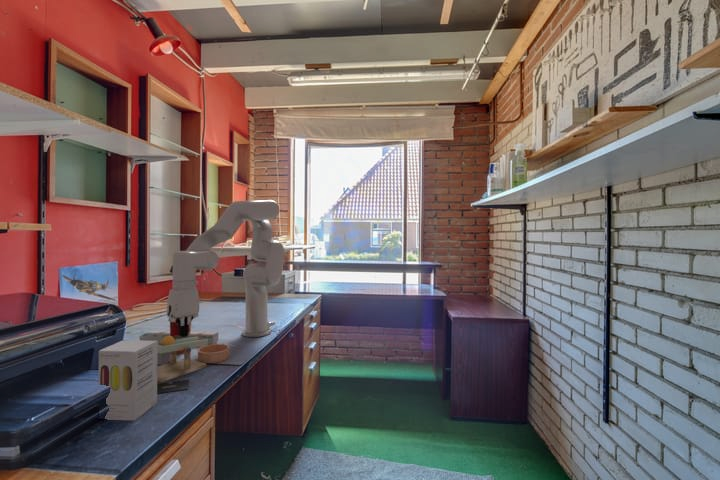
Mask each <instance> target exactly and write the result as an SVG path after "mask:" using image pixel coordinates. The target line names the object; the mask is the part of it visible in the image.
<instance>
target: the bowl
mask: <svg viewBox="0 0 720 480" xmlns="http://www.w3.org/2000/svg"><path fill="white" fill-rule="evenodd" d="M228 357H229V358H230V346H229V345H228V344H225V343H216V344H211V345H209V344H208V345H207V346H201V347H198V349H197V361H199V362H202V363H205V364H215V363H220V362H224V361H226V360H227V358H228ZM229 358H228V359H229ZM223 360H224V361H223Z"/></svg>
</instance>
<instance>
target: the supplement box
mask: <svg viewBox="0 0 720 480" xmlns="http://www.w3.org/2000/svg"><path fill="white" fill-rule="evenodd" d="M157 354H158V341H142V340H140V339H139V340H137V339H136V340H135V339H134V340H131V339H130V340H129V339H123V340H120V341H118V342H115V343H114V344H111V345H108V346H106V347H104V348H102V349H100V350H99V351H98V377H97V378H98V381H97V383H98V384H97V386H98V385H106V386H110V388H111V389H110V393H109V395H108V397H107V398H106V404H107V405H108V406H110V407H109V411H108V412H107V414H106V416H105V419H107V420H106V421H129V422H130V421H136V420H138V419H139V418H140V417H141V416H143V415H144V414H145V413H146V412H148V411H149V410H151V408H153V407H154V406H155V405H156V404H157V403H158V394H157V384H158V381H157V367H158V363H157Z"/></svg>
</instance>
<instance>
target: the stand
mask: <svg viewBox="0 0 720 480" xmlns="http://www.w3.org/2000/svg"><path fill="white" fill-rule="evenodd" d="M191 352H192V348H191V347H185V348H184V353H183V358H181V359H179V360H177V354H176V351H173V352H169V362H168V363H166V364H161V365H157V382H160V383H165V382H166V381H170V380H172V379H175V378H178V377H181V376H184V375H187V374H191V373H192V372H196V371H198V370H199V371H200V370H201V369H204V368H207V366H208V365H207V364H208V363H202V362H199V361H198V360H196V359H194V358H191V356H192V354H191Z"/></svg>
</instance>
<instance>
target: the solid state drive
mask: <svg viewBox="0 0 720 480" xmlns="http://www.w3.org/2000/svg"><path fill="white" fill-rule="evenodd" d="M189 385H190V380H189V379H183V380H175V381H168V382H160V383H157V395H161V394H162V395H163V394H168V393H176V392H183V391H188V390H189Z"/></svg>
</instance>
